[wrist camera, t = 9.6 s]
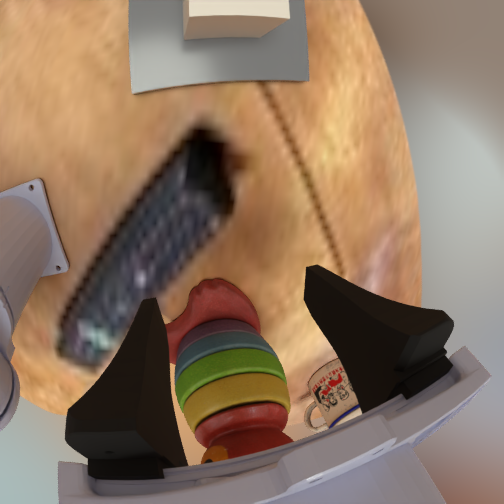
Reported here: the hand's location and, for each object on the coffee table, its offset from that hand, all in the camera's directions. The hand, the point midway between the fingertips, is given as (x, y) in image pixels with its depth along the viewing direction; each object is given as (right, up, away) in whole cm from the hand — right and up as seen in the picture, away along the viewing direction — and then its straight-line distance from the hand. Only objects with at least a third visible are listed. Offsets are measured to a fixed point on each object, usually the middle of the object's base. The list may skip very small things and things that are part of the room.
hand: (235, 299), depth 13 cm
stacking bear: (-3, -6, +14) cm, 16 cm away
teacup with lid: (+12, -17, +26) cm, 34 cm away
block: (-1, +18, 0) cm, 18 cm away
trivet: (-2, +19, 0) cm, 19 cm away
